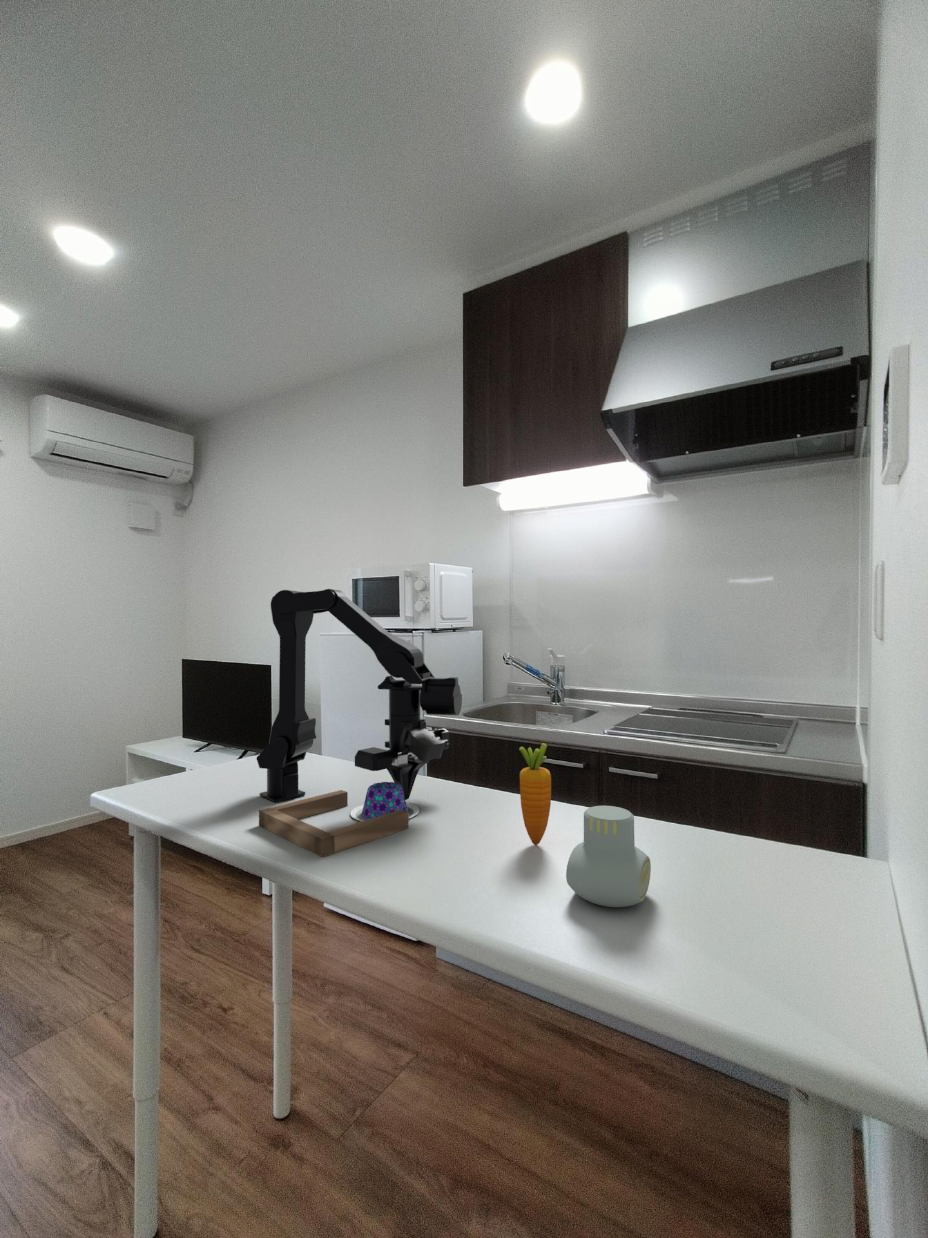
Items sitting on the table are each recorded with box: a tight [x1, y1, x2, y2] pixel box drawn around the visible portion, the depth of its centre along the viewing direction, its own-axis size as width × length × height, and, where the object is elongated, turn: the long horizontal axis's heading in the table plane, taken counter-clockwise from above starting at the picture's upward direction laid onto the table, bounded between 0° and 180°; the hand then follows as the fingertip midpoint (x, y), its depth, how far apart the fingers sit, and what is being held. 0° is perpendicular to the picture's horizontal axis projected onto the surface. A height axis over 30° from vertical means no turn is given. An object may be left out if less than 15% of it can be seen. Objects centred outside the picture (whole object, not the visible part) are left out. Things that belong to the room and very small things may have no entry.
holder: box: [258, 789, 410, 858], centre depth 92 cm, size 19×16×2 cm
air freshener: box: [565, 805, 652, 908], centre depth 68 cm, size 11×8×10 cm
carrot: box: [518, 742, 552, 846], centre depth 84 cm, size 5×5×15 cm
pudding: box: [350, 781, 420, 822], centre depth 99 cm, size 12×12×5 cm
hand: (405, 799), depth 103 cm, fingers closed
